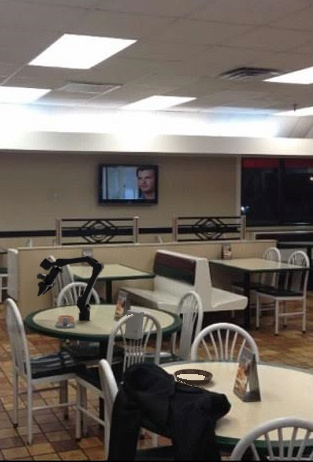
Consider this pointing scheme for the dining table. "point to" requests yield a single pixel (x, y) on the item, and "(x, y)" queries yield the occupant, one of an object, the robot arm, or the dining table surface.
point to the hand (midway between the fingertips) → (40, 295)
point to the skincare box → (134, 325)
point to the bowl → (70, 318)
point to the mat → (63, 328)
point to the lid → (65, 324)
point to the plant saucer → (194, 371)
